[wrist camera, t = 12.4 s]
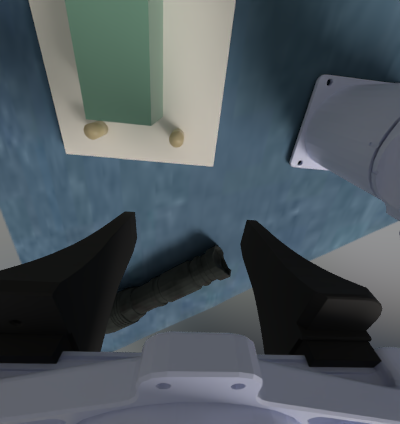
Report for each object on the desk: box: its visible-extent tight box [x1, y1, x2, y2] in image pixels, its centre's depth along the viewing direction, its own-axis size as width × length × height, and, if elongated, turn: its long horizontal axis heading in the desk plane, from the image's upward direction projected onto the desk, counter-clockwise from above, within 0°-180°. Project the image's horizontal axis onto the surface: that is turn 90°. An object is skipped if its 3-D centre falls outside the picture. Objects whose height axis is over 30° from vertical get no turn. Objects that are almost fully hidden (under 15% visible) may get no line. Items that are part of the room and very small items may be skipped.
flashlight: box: [105, 245, 231, 334], centre depth 28 cm, size 5×21×5 cm, turn 124°
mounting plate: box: [29, 0, 236, 167], centre depth 14 cm, size 14×17×3 cm
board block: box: [65, 0, 163, 126], centre depth 12 cm, size 4×9×6 cm, turn 174°
